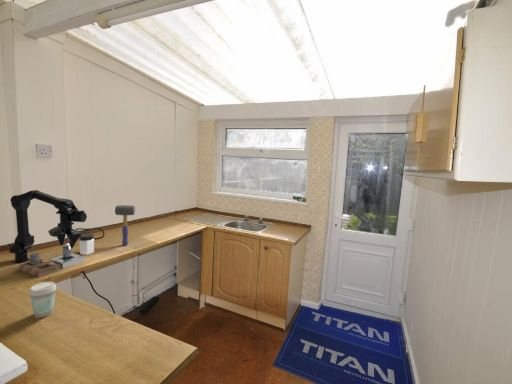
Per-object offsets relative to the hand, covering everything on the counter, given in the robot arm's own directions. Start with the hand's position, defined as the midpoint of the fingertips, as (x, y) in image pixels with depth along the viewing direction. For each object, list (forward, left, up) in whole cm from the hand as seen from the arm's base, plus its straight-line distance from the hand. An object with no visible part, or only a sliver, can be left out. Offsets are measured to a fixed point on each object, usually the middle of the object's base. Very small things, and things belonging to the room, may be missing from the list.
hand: (66, 246), depth 150 cm
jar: (-6, +16, -10) cm, 20 cm away
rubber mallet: (+2, +39, -10) cm, 40 cm away
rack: (-2, -13, -10) cm, 16 cm away
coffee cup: (+43, -35, -10) cm, 56 cm away
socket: (0, 0, -10) cm, 10 cm away
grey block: (0, 0, -10) cm, 10 cm away
